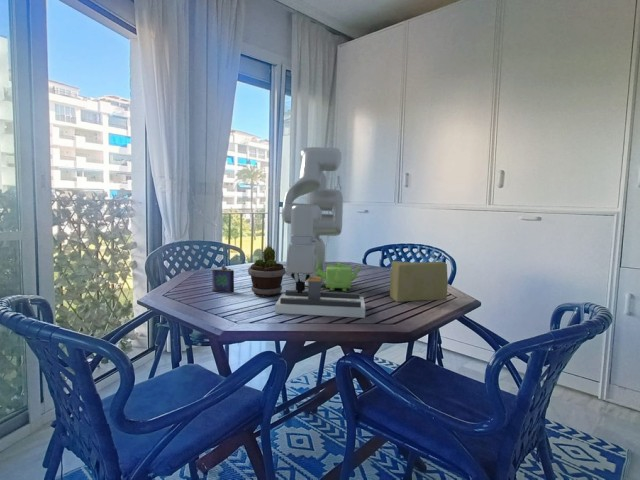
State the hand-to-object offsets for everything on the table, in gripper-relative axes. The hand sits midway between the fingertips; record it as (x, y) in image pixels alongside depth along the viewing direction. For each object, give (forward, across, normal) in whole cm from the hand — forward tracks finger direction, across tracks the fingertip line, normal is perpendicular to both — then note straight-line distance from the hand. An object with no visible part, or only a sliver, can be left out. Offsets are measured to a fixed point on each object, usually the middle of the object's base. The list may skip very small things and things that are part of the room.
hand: (300, 292), depth 135 cm
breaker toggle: (+2, -5, 0) cm, 6 cm away
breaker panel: (+6, -8, 0) cm, 9 cm away
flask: (+6, +34, -18) cm, 38 cm away
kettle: (+6, -13, -31) cm, 34 cm away
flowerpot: (+6, +16, -17) cm, 24 cm away
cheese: (+6, -45, -21) cm, 50 cm away
